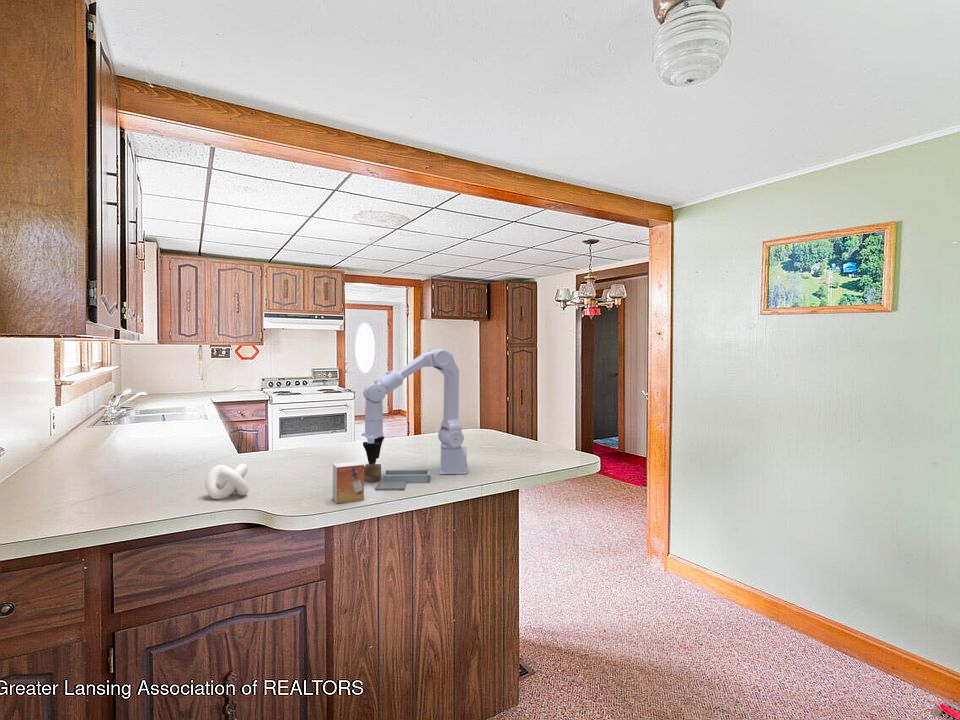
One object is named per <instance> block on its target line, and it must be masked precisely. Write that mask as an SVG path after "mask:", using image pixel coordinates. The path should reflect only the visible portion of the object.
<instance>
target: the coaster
mask: <svg viewBox="0 0 960 720" xmlns="http://www.w3.org/2000/svg"><path fill="white" fill-rule="evenodd" d="M407 484H408V483H407V481H383V480H380V481H379V482H377V484H376V486H375V488H374V490H375V491H376V492H377V491H405V490H406V486H407Z"/></svg>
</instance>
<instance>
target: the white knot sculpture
mask: <svg viewBox="0 0 960 720" xmlns="http://www.w3.org/2000/svg"><path fill="white" fill-rule="evenodd" d="M248 470H249V468H248V465H247V464H246V463H239V464H238V465H237V466H236V467H235V468H234V469H233V468H232V467H230V466H228V465H225V464H217V465H216V466H214V467H212V468H211V469H210V470H209V471H208V473H207V474H206V476H205V480H204V485H205V487H204V488H205V490H206V493H207V495H209V497H211V498H213V499H215V500H224V499H226V498H228V497H230V496H231V495H232V494H233V493H234V491H235V493H236V494H237V495H238V496H241V497H243V496H244V497H245V496H246V495H247V494H248V493H249V491H250V490H249V489H250V488H249V485H248V484H247V482H246V480H245V479H244V478H245V477H246V475H247V473H248Z"/></svg>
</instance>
